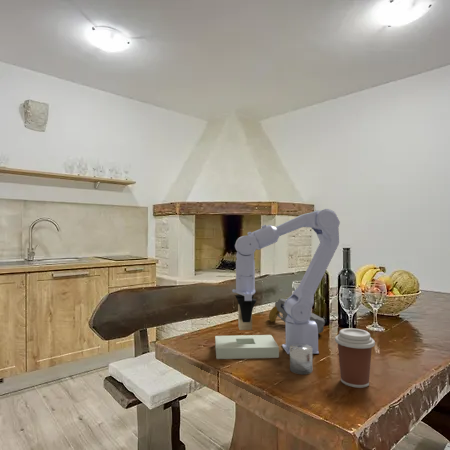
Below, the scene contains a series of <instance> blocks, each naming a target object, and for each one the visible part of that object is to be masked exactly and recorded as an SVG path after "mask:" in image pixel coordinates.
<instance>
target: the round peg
mask: <svg viewBox="0 0 450 450" xmlns="http://www.w3.org/2000/svg"><path fill="white" fill-rule="evenodd" d="M289 370H290V371H291V372H292V373H293V374H296V375H310V374H312V373H313V354H312V347H311V346H310V345H307V344H292V345H290V354H289Z"/></svg>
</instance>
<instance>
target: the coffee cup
mask: <svg viewBox="0 0 450 450" xmlns="http://www.w3.org/2000/svg"><path fill="white" fill-rule="evenodd" d="M334 341H335V343H336V344H337V348H338V360H339V361H338V362H339V371H340V381H341V383H342V384H343V385H345V386H348V387H349V388H350V387H352V388H358V389H362V388H366V387H368V386H369V385H370V375H371V363H372V349H373V347H375V345H376V341H375V340H374V338H373V337H371V333H370V332H368V330H364V329H360V328H350V327H348V328H342V329H340V330H339V331H338V334H337V335H335V337H334Z"/></svg>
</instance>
